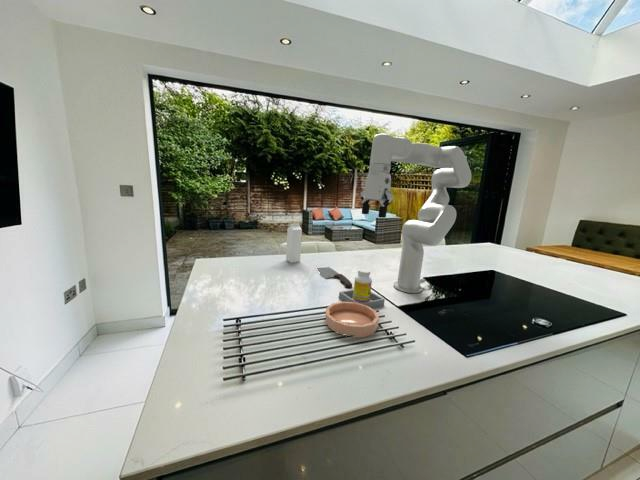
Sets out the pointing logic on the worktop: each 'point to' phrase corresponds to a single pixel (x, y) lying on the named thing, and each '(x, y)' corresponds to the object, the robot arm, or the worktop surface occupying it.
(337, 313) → the bowl
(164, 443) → the worktop surface
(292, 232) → the milk
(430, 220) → the robot arm
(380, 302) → the grey square frame
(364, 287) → the supplement bottle
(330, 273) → the cleaver
